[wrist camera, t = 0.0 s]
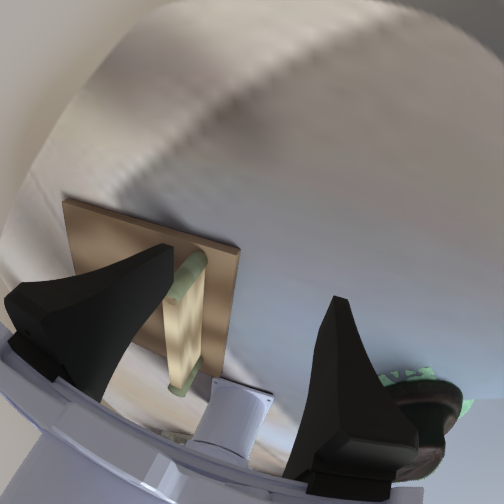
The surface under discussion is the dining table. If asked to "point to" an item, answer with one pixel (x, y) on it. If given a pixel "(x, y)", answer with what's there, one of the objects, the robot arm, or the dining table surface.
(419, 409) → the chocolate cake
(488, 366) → the dining table surface
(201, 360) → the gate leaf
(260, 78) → the dining table surface
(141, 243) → the board
